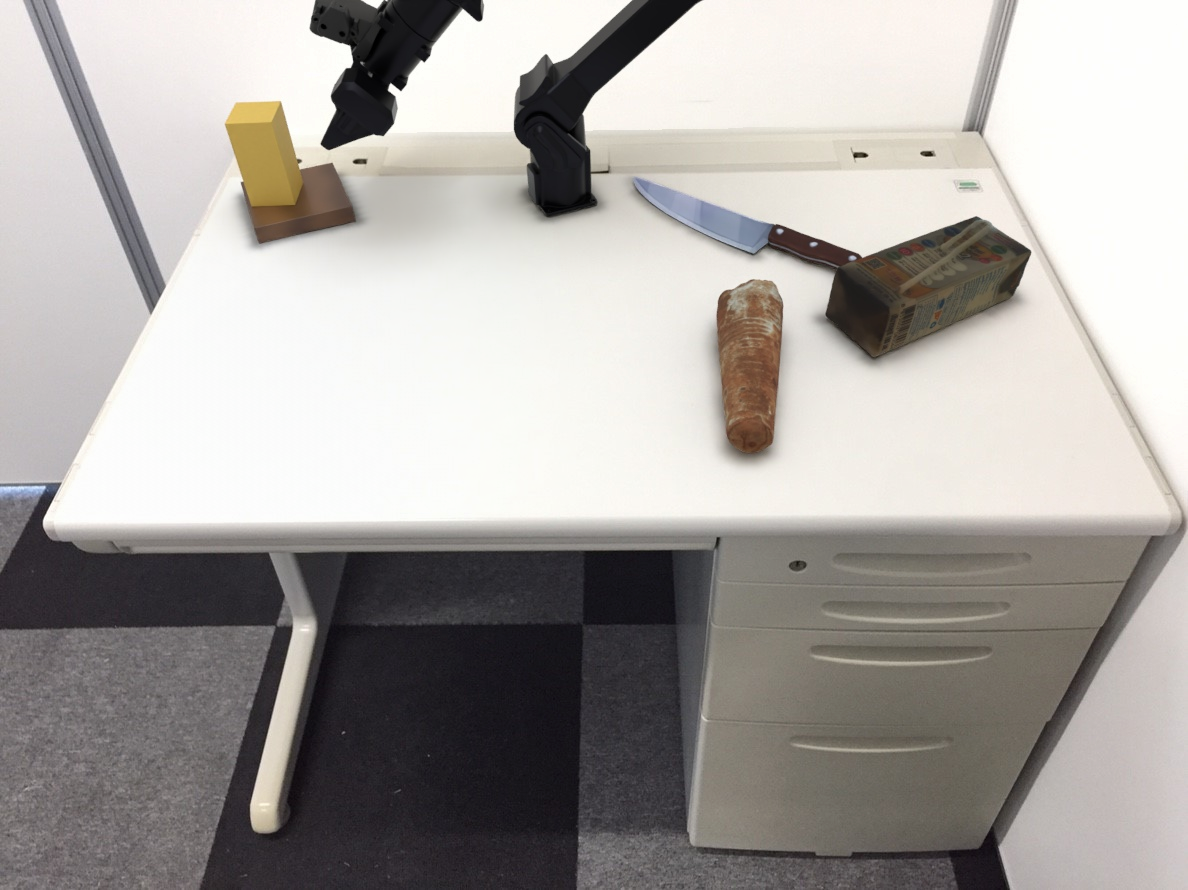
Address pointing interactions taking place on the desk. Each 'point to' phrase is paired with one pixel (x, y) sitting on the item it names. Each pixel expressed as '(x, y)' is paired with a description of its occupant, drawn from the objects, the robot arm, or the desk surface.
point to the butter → (264, 153)
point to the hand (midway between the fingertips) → (331, 126)
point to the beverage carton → (925, 284)
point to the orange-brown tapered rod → (750, 361)
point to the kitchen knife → (742, 227)
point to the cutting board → (305, 207)
